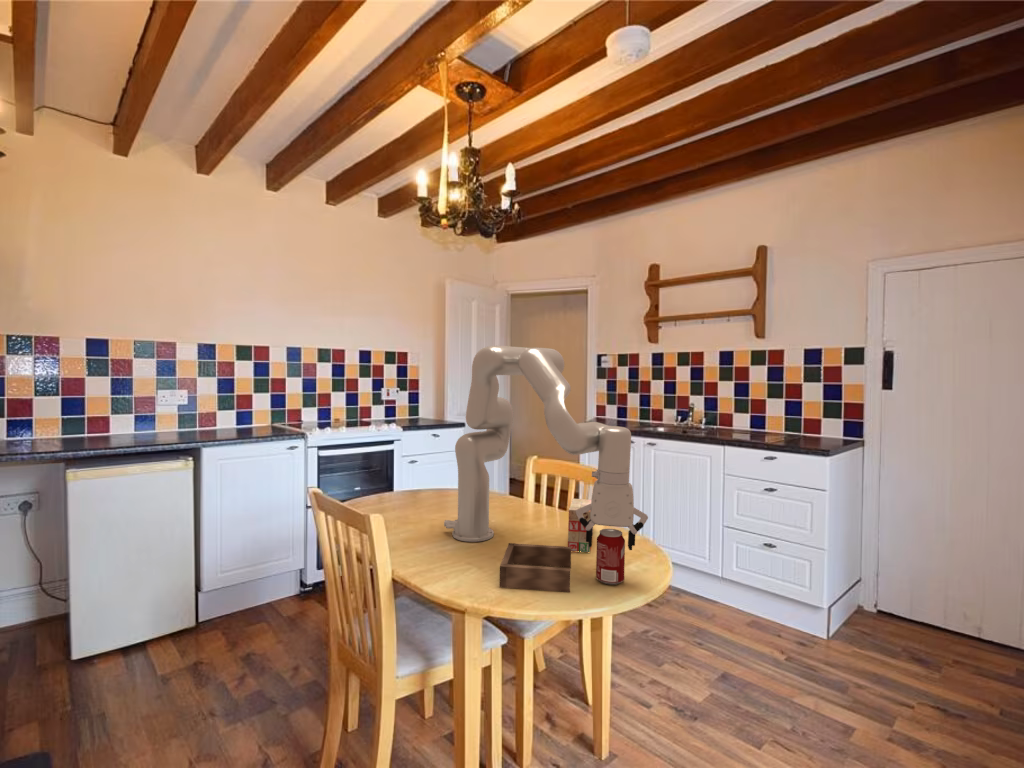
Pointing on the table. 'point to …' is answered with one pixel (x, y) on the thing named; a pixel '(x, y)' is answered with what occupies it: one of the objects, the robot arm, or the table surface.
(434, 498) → the table surface
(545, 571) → the open-side box
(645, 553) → the table surface
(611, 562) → the soda can
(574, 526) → the stack of blocks
